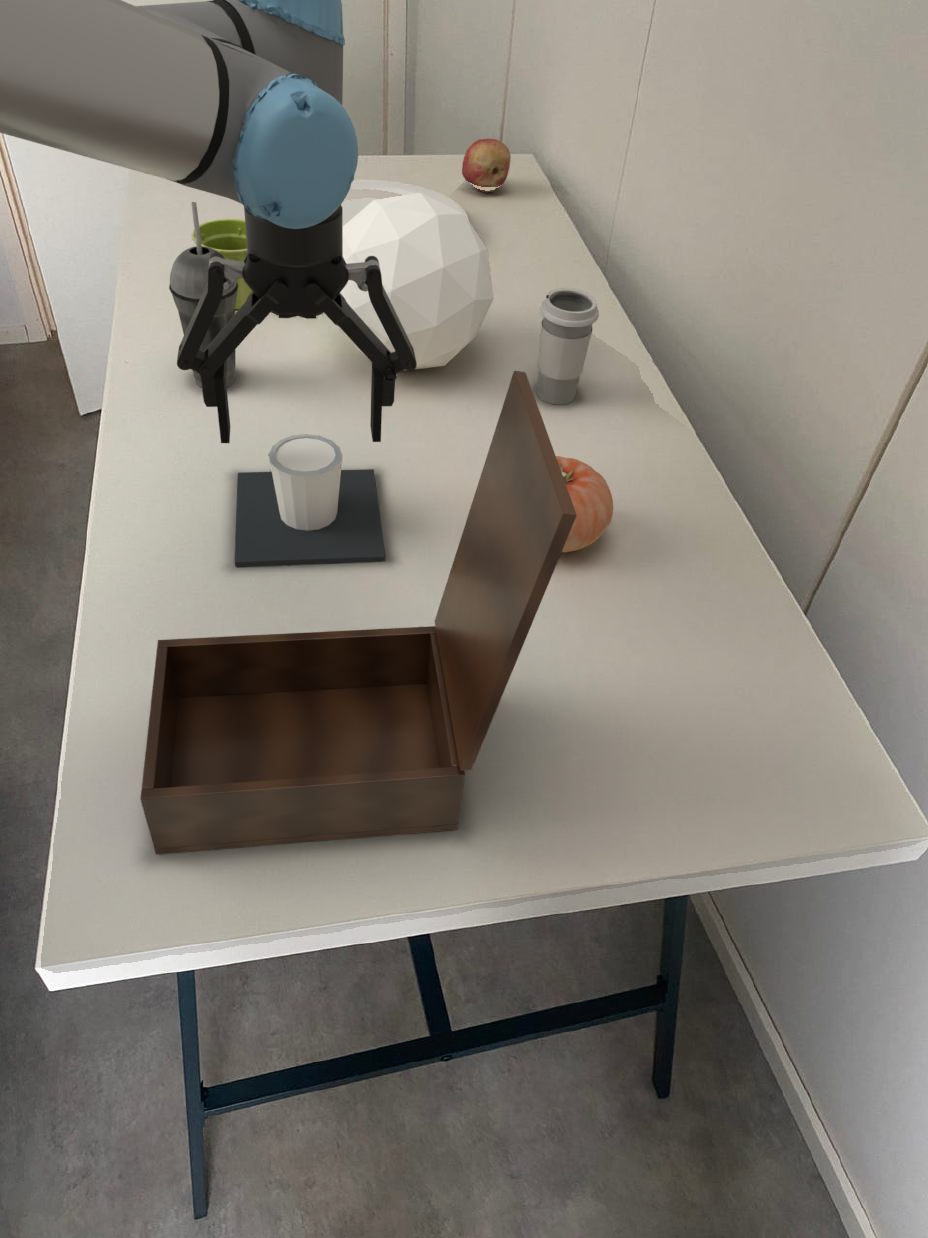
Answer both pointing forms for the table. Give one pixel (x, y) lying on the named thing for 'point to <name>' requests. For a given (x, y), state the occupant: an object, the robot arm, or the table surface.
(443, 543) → the table surface
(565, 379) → the cup
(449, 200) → the plate
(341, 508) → the drying mat
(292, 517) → the white grey-rimmed cylinder
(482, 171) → the fruit
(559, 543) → the chest lid
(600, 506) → the tomato
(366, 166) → the table surface
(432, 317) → the ball
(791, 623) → the table surface
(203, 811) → the chest
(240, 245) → the plant pot
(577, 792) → the table surface
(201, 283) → the beverage cup
